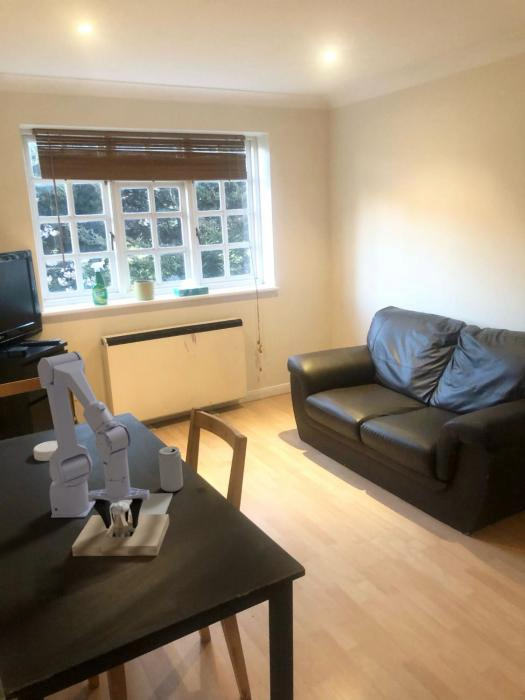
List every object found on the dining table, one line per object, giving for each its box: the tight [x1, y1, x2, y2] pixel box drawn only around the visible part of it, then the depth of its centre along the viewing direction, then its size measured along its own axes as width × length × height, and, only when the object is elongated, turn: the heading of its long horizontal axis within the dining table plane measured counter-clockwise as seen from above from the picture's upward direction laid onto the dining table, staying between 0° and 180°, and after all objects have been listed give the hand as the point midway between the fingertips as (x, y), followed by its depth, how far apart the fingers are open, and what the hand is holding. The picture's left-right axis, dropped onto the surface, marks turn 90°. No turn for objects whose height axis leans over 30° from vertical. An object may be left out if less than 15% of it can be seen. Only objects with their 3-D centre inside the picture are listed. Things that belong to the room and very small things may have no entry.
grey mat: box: [110, 492, 174, 515], centre depth 150 cm, size 16×12×1 cm
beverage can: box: [157, 445, 184, 493], centre depth 158 cm, size 6×6×12 cm
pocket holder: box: [71, 513, 170, 557], centre depth 135 cm, size 20×14×2 cm
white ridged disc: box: [32, 440, 58, 462], centre depth 186 cm, size 10×10×4 cm
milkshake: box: [110, 502, 131, 537], centre depth 134 cm, size 4×5×10 cm
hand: (122, 526), depth 134 cm, fingers open, 6 cm apart
